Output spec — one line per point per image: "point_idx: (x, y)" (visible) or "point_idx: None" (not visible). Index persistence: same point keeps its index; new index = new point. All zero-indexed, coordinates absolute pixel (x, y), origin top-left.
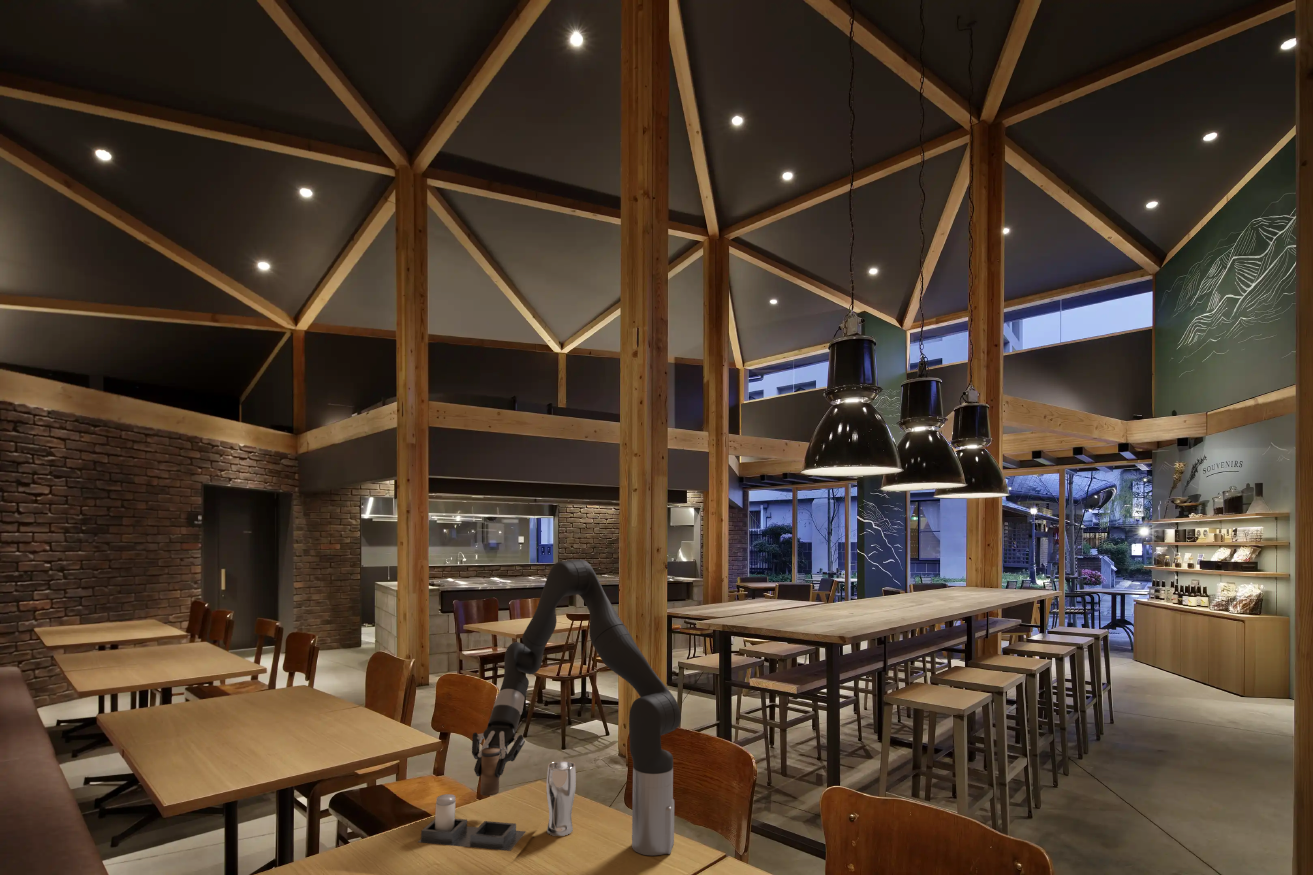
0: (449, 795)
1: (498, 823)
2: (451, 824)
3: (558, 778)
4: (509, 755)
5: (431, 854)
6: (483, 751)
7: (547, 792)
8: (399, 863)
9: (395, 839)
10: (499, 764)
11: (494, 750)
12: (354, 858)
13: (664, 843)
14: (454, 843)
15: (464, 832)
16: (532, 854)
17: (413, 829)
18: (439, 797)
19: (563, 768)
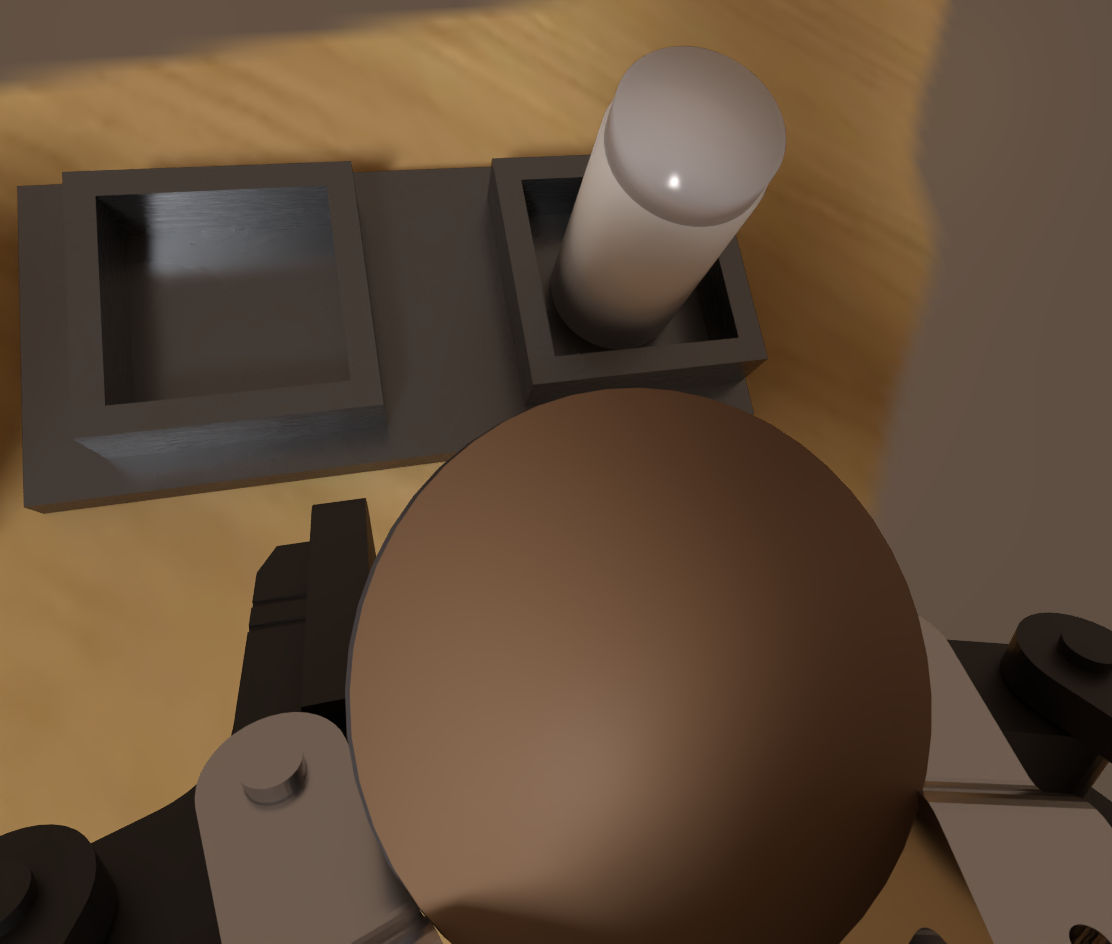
0: (706, 174)
1: (239, 395)
2: (566, 230)
3: None
4: (32, 853)
5: (544, 116)
6: (764, 443)
7: None
8: (634, 5)
9: (851, 224)
10: (310, 603)
11: (507, 646)
12: (864, 12)
13: None
14: (467, 193)
15: (502, 349)
16: None
17: (860, 362)
18: (759, 116)
19: None
